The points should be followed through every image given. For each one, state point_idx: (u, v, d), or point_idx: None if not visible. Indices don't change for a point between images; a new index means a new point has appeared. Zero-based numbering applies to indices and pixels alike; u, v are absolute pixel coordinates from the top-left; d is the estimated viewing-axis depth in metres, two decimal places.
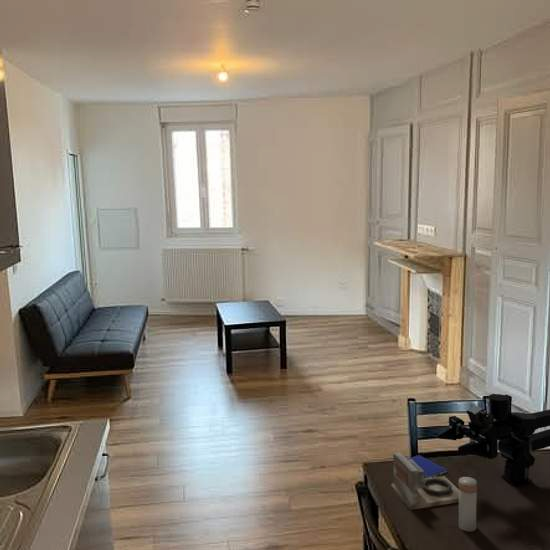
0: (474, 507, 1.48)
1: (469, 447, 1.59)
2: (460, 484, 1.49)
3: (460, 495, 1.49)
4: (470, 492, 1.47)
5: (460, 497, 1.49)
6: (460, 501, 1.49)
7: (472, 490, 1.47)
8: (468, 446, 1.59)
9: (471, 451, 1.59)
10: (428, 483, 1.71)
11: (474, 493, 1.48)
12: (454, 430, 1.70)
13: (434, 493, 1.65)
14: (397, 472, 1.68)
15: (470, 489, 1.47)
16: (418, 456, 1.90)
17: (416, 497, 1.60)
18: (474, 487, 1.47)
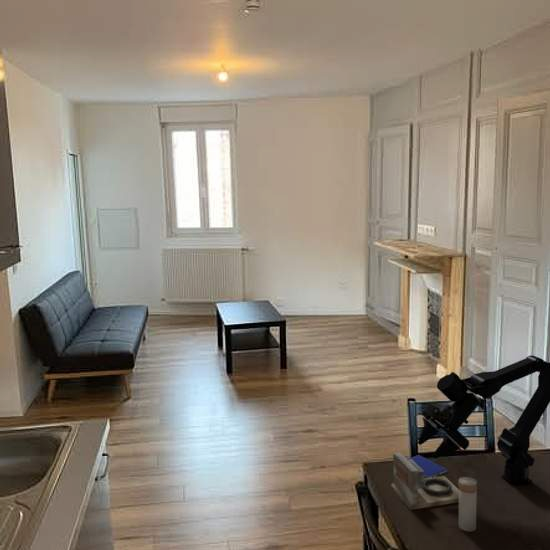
0: (474, 507, 1.48)
1: (441, 450, 1.61)
2: (460, 484, 1.49)
3: (460, 495, 1.49)
4: (470, 492, 1.47)
5: (460, 497, 1.49)
6: (460, 501, 1.49)
7: (472, 490, 1.47)
8: (440, 450, 1.61)
9: (445, 452, 1.61)
10: (428, 483, 1.71)
11: (474, 493, 1.48)
12: (430, 427, 1.71)
13: (434, 493, 1.65)
14: (397, 472, 1.68)
15: (470, 489, 1.47)
16: (418, 456, 1.90)
17: (416, 497, 1.60)
18: (474, 487, 1.47)
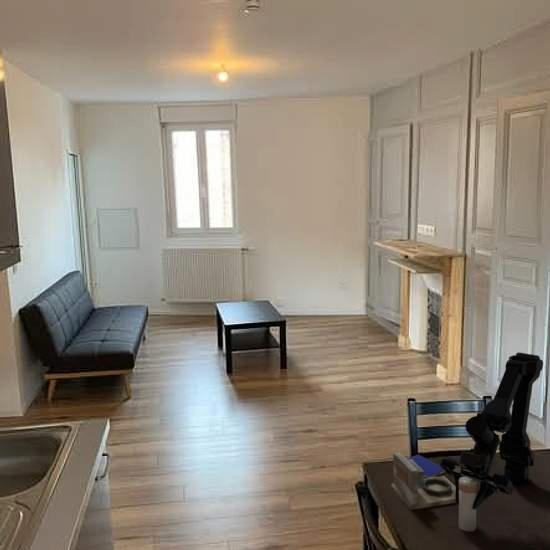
0: None
1: (481, 499, 1.48)
2: (460, 484, 1.49)
3: (460, 495, 1.49)
4: (470, 491, 1.47)
5: (460, 496, 1.49)
6: (460, 501, 1.49)
7: (472, 490, 1.47)
8: (480, 499, 1.47)
9: (483, 499, 1.49)
10: (428, 483, 1.71)
11: (475, 493, 1.48)
12: None
13: (434, 493, 1.65)
14: (397, 472, 1.68)
15: (470, 489, 1.47)
16: (417, 456, 1.90)
17: (416, 497, 1.60)
18: (474, 487, 1.47)
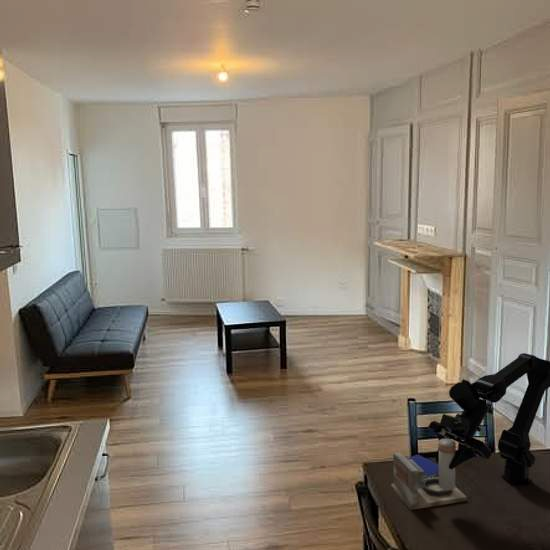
0: None
1: (457, 460, 1.55)
2: (438, 444, 1.57)
3: (439, 455, 1.57)
4: (447, 452, 1.55)
5: (439, 456, 1.57)
6: (439, 460, 1.58)
7: (449, 451, 1.55)
8: (456, 460, 1.55)
9: (461, 461, 1.55)
10: (428, 483, 1.71)
11: (451, 454, 1.55)
12: None
13: (434, 493, 1.65)
14: (397, 472, 1.68)
15: (447, 449, 1.55)
16: (417, 456, 1.90)
17: (416, 497, 1.60)
18: (451, 448, 1.55)
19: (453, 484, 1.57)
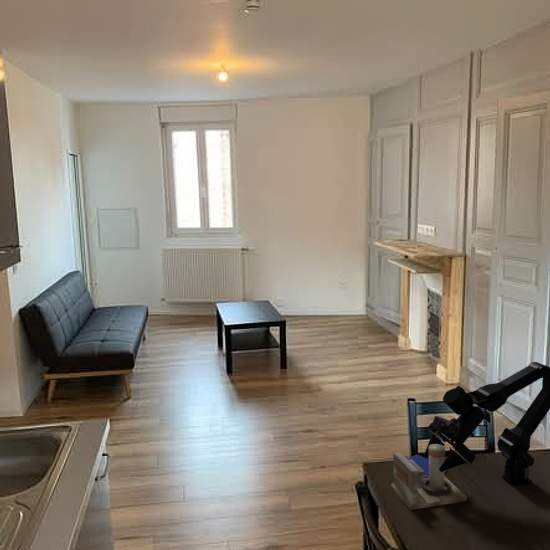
0: (438, 471, 1.65)
1: (448, 464, 1.62)
2: None
3: (429, 458, 1.68)
4: (434, 456, 1.65)
5: None
6: (429, 463, 1.68)
7: (436, 455, 1.65)
8: (446, 464, 1.62)
9: (451, 465, 1.62)
10: (428, 483, 1.71)
11: (439, 459, 1.65)
12: (436, 440, 1.72)
13: (434, 493, 1.65)
14: (397, 472, 1.68)
15: (434, 453, 1.65)
16: (416, 456, 1.90)
17: (416, 497, 1.60)
18: (438, 453, 1.65)
19: (441, 487, 1.66)
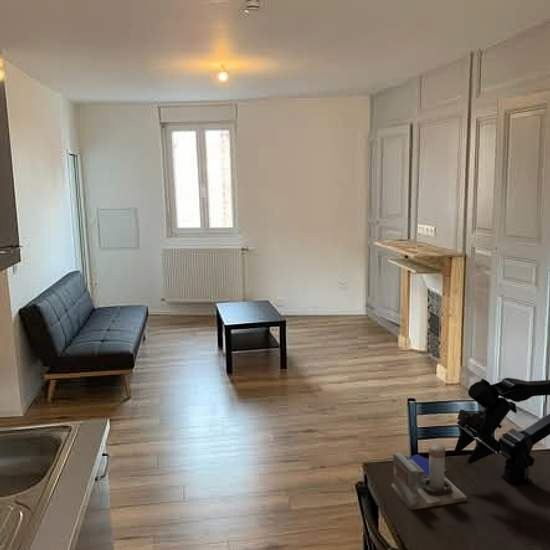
0: (439, 471, 1.65)
1: (475, 455, 1.63)
2: (429, 448, 1.67)
3: (429, 458, 1.68)
4: (434, 456, 1.65)
5: (429, 459, 1.68)
6: (429, 463, 1.68)
7: (436, 456, 1.65)
8: (474, 455, 1.63)
9: (479, 456, 1.63)
10: (428, 483, 1.71)
11: (439, 459, 1.65)
12: (465, 435, 1.74)
13: (434, 493, 1.65)
14: (397, 472, 1.68)
15: (434, 454, 1.65)
16: (416, 455, 1.90)
17: (416, 497, 1.60)
18: (438, 453, 1.64)
19: (441, 487, 1.66)
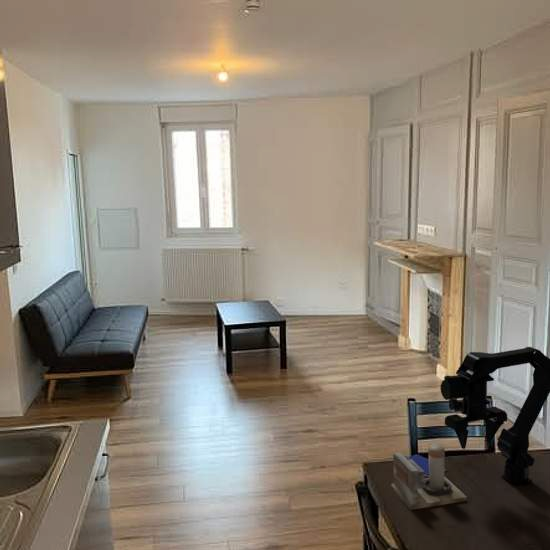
0: (438, 471, 1.65)
1: (459, 439, 1.67)
2: (428, 448, 1.67)
3: None
4: (433, 456, 1.65)
5: None
6: None
7: (436, 455, 1.65)
8: (459, 439, 1.68)
9: (462, 439, 1.66)
10: (428, 483, 1.71)
11: (438, 459, 1.65)
12: (488, 422, 1.71)
13: (434, 493, 1.65)
14: (397, 472, 1.68)
15: (434, 453, 1.65)
16: (416, 455, 1.91)
17: (416, 497, 1.60)
18: (437, 453, 1.65)
19: (441, 487, 1.66)
